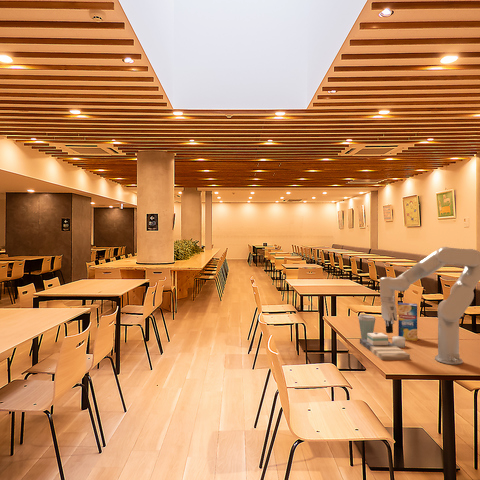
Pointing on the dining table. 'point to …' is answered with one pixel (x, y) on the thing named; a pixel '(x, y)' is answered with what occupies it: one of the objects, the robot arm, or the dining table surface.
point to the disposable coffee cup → (366, 324)
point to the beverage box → (407, 321)
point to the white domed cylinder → (398, 341)
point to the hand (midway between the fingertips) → (389, 332)
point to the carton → (377, 338)
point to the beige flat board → (386, 351)
